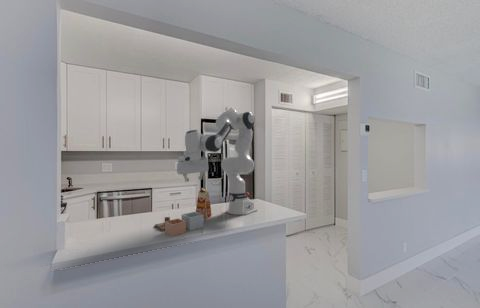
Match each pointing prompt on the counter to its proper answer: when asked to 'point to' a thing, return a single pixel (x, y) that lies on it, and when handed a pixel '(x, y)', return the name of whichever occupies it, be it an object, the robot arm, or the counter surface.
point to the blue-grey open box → (193, 220)
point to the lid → (162, 224)
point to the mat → (159, 229)
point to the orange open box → (175, 227)
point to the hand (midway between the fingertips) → (193, 180)
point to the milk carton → (204, 204)
